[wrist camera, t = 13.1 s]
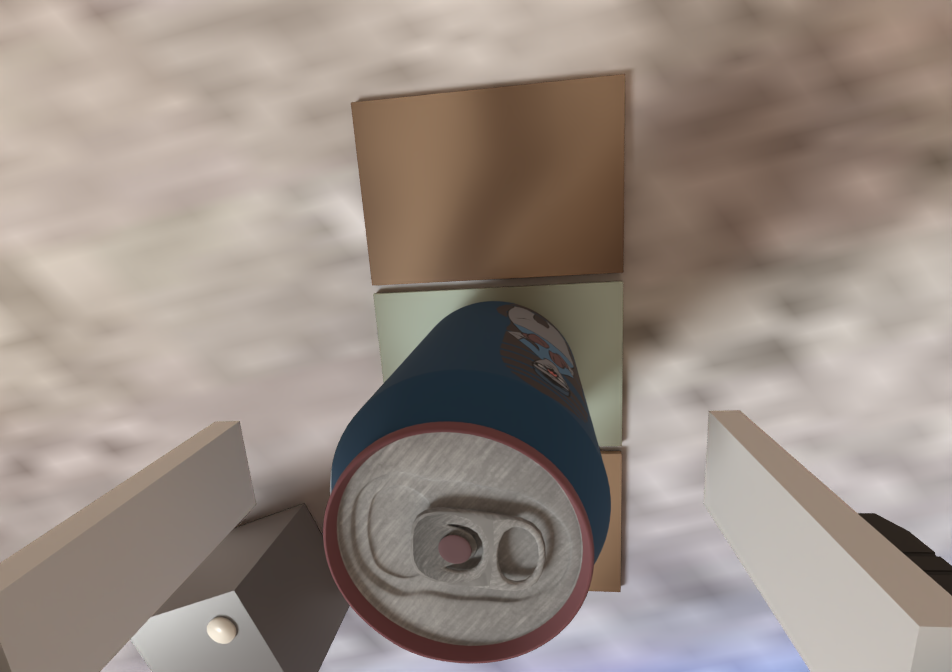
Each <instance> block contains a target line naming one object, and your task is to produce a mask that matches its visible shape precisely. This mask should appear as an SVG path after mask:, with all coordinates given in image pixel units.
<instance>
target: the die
mask: <svg viewBox="0 0 952 672" xmlns="http://www.w3.org/2000/svg"><path fill="white" fill-rule="evenodd" d="M349 606H350V605H349V604H348V602H347V601H346V599H345V598H344V597H343V595H342V593H341V592H340V590H339V589H338V587H337V585H336V583H335V581H334V579H333V577H332V574H331V572H330V569H329V566H328V563H327V559H326V555H325V549H324V541H323V536H322V534H321V532H320V531H319V529H318V527H317V525H316V523H315V522H314V520H313V518H312V516H311V514H310V513H309V511H308V509H307V507H306V505H305V504H301V505H298V506H296V507H293V508H290V509H287V510H284V511H281V512H279V513H276V514H273V515H270V516H267V517H264V518H262V519H259V520H256V521H253V522H250V523H247V524H244V525H242V526H239V527H236V528H234V529H233V530H232V531H231V532H230V533H229V534H228V535H227V536H226V537H225V538H224V539H223V540H222V541H221V543H220V544H219V545H218V546H217V547H216V548H215V549H214V550H213V551H212V552H211V553H210V554H209V555H208V556H207V558H206V559H205V560H204V561H203V562H202V563H201V564H200V565H199V566H198V567H197V568H196V569H195V570H194V571H193V573H192V574H191V575H190V576H189V577H188V578H187V579H186V580H185V581H184V582H183V583H182V584H181V585H180V586H179V588H178V589H177V590H176V591H175V592H174V593H173V594H172V595H171V596H170V597H169V598H168V599H167V600H166V601H165V603H164V604H163V605H162V606H161V607H160V608H159V609H158V610H157V611H156V612H155V613H154V614H153V615H152V616H151V617H150V619H149V620H148V621H147V622H146V623H145V624H144V625H143V626H142V627H141V628H140V629H139V630H138V631H137V632H136V634H135V635H134V636H133V637H132V638H131V639H130V640H131V641H132V643H133V644H134V646H135V647H136V649H137V650H138V652H139V653H140V655H141V656H142V658H143V659H144V661H145V662H146V664H147V665H148V667H149V668H150V670H151V671H152V672H318V671H319V669H320V667H321V665H322V663H323V661H324V659H325V657H326V655H327V652H328V650H329V648H330V646H331V644H332V642H333V640H334V638H335V635H336V633H337V631H338V629H339V627H340V625H341V623H342V621H343V619H344V616H345V614H346V612H347V610H348V608H349Z"/></svg>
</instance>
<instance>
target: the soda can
mask: <svg viewBox="0 0 952 672" xmlns="http://www.w3.org/2000/svg"><path fill="white" fill-rule="evenodd" d="M610 515H611V495H610V487H609V482H608V477H607V473H606V470H605V466H604V463H603V459H602V456H601V452H600V448H599V445H598V441H597V438H596V434H595V431H594V427H593V423H592V420H591V416H590V413H589V409H588V406H587V402H586V398H585V395H584V391H583V388H582V384H581V381H580V377H579V373H578V370H577V366H576V363H575V359H574V356H573V353H572V351H571V349H570V347H569V345H568V343H567V341H566V340H565V338H564V337H563V335H562V334H561V333H560V331H559V330H558V329H557V328H556V327H555V326H554V325H553V324H552V323H551V322H550V321H549V320H547V319H546V318H545V317H543V316H542V315H540V314H539V313H537V312H535V311H533V310H531V309H529V308H527V307H524V306H521V305H518V304H514V303H510V302H503V301H485V302H479V303H474V304H470V305H467V306H465V307H462V308H460V309H458V310H456V311H454V312H452V313H450V314H449V315H447V316H446V317H445V318H443V319H442V320H441V321H440V322H439V323H438V324H437V325H436V326H435V327H434V328H433V329H432V330H431V331H430V332H429V334H428V335H427V336H426V337H425V338H424V339H423V340H422V341H421V342H420V344H419V345H418V346H417V347H416V348H415V349H414V350H413V351H412V352H411V354H410V355H409V356H408V357H407V358H406V359H405V360H404V361H403V362H402V364H401V365H400V366H399V367H398V368H397V369H396V370H395V371H394V372H393V374H392V375H391V376H390V377H389V378H388V379H387V380H386V381H385V382H384V384H383V385H382V386H381V387H380V388H379V389H378V390H377V391H376V392H375V394H374V395H373V396H372V397H371V398H370V399H369V400H368V401H367V402H366V404H365V405H364V406H363V407H362V408H361V409H360V410H359V411H358V413H357V414H356V415H355V416H354V417H353V419H352V420H351V422H350V423H349V424H348V426H347V428H346V429H345V431H344V433H343V434H342V437H341V439H340V441H339V443H338V446H337V449H336V451H335V455H334V459H333V463H332V469H331V478H330V497H329V500H328V503H327V507H326V510H325V516H324V524H323V541H324V549H325V555H326V559H327V563H328V566H329V569H330V572H331V574H332V577H333V579H334V581H335V583H336V585H337V587H338V589H339V590H340V592H341V593H342V595H343V597H344V598H345V599H346V601H347V602H348V604H349V605H350V606H351V607H352V608H353V610H354V611H355V612H356V613H357V614H358V615H359V616H360V617H361V618H362V619H363V620H364V621H365V622H366V623H367V624H368V625H369V626H370V627H372V628H373V629H374V630H375V631H377V632H378V633H379V634H381V635H382V636H383V637H385V638H386V639H388V640H389V641H391V642H392V643H394V644H396V645H398V646H399V647H401V648H403V649H405V650H407V651H410V652H412V653H415V654H417V655H420V656H423V657H427V658H431V659H435V660H440V661H447V662H455V663H490V662H497V661H502V660H507V659H511V658H514V657H518V656H520V655H523V654H526V653H528V652H530V651H533V650H535V649H537V648H538V647H540V646H542V645H544V644H545V643H547V642H548V641H550V640H551V639H553V638H554V637H555V636H556V635H558V634H559V633H560V632H561V631H562V630H563V629H564V628H565V627H566V626H567V625H568V624H569V623H570V622H571V621H572V619H573V618H574V617H575V615H576V614H577V612H578V611H579V609H580V608H581V606H582V604H583V602H584V600H585V598H586V596H587V593H588V590H589V588H590V584H591V580H592V576H593V570H594V564H595V562H596V561H597V559H598V557H599V555H600V553H601V551H602V548H603V545H604V543H605V540H606V537H607V533H608V529H609V523H610Z"/></svg>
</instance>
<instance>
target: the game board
mask: <svg viewBox="0 0 952 672" xmlns="http://www.w3.org/2000/svg"><path fill="white" fill-rule="evenodd" d="M351 109H352V117H353V126H354V134H355V143H356V151H357V160H358V168H359V177H360V185H361V194H362V202H363V211H364V220H365V228H366V237H367V245H368V254H369V262H370V271H371V279H372V285H391V284H410V283H429V282H449V281H468V280H487V279H506V278H526V277H545V276H564V275H583V274H603V273H622V272H623V247H624V133H625V74H620V75H610V76H601V77H591V78H582V79H572V80H563V81H553V82H543V83H534V84H524V85H515V86H505V87H496V88H486V89H476V90H467V91H457V92H448V93H438V94H428V95H419V96H409V97H400V98H390V99H381V100H371V101H361V102H352V103H351ZM373 296H374V305H375V313H376V322H377V330H378V339H379V348H380V356H381V365H382V373H383V382H385V381H386V380H387V379H388V378H389V377H390V376H391V375H392V374H393V372H394V371H395V370H396V369H397V368H398V367H399V366H400V365H401V364H402V362H403V361H404V360H405V359H406V358H407V357H408V356H409V355H410V354H411V352H412V351H413V350H414V349H415V348H416V347H417V346H418V345H419V344H420V342H421V341H422V340H423V339H424V338H425V337H426V336H427V335H428V334H429V332H430V331H431V330H432V329H433V328H434V327H435V326H436V325H437V324H438V323H439V322H440V321H441V320H442V319H443V318H445V317H446V316H447V315H449V314H450V313H452V312H454V311H456V310H458V309H460V308H462V307H465V306H467V305H470V304H474V303H479V302H485V301H503V302H510V303H514V304H518V305H521V306H524V307H527V308H529V309H531V310H533V311H535V312H537V313H539V314H540V315H542V316H543V317H545V318H546V319H547V320H549V321H550V322H551V323H552V324H553V325H554V326H555V327H556V328H557V329H558V330H559V331H560V333H561V334H562V335H563V337H564V338H565V340H566V341H567V343H568V345H569V347H570V349H571V351H572V353H573V356H574V359H575V363H576V366H577V370H578V373H579V377H580V381H581V384H582V388H583V391H584V395H585V398H586V402H587V406H588V409H589V413H590V416H591V420H592V423H593V427H594V431H595V434H596V438H597V441H598V445H599V446H622V361H623V281H612V282H592V283H572V284H552V285H532V286H512V287H492V288H471V289H451V290H431V291H411V292H391V293H375V294H373ZM600 452H601V456H602V459H603V463H604V466H605V470H606V473H607V477H608V482H609V487H610V495H611V515H610V523H609V529H608V533H607V537H606V540H605V543H604V545H603V548H602V551H601V553H600V555H599V557H598V559H597V561H596V562H595V564H594V570H593V576H592V580H591V584H590V588H589V590H588V591H604V592H620V590H621V476H622V453H621V451H600Z"/></svg>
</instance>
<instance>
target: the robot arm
mask: <svg viewBox="0 0 952 672" xmlns="http://www.w3.org/2000/svg"><path fill="white" fill-rule="evenodd" d="M703 504H704V506H705V507H706V509H707V510H708V512H709V513H710V515H711V517H712V518H713V520H714V521H715V523H716V524H717V526H718V527H719V529H720V531H721V532H722V534H723V535H724V537H725V538H726V540H727V542H728V543H729V545H730V546H731V548H732V549H733V551H734V552H735V554H736V556H737V557H738V559H739V560H740V562H741V563H742V565H743V567H744V568H745V570H746V571H747V573H748V574H749V576H750V578H751V579H752V581H753V582H754V584H755V585H756V587H757V588H758V590H759V592H760V593H761V595H762V596H763V598H764V599H765V601H766V603H767V604H768V606H769V607H770V609H771V610H772V612H773V614H774V615H775V617H776V618H777V620H778V621H779V623H780V624H781V626H782V628H783V629H784V631H785V632H786V634H787V635H788V637H789V639H790V640H791V642H792V643H793V645H794V646H795V648H796V650H797V651H798V653H799V654H800V656H801V657H802V659H803V660H804V662H805V664H806V665H807V667H808V668H809V670H810V671H811V672H952V566H951V565H950V564H949V563H948V562H946V561H945V560H944V559H943V558H941V557H936V555H935V552H934V551H933V550H931V549H930V548H929V547H928V546H926V545H925V544H924V543H923V542H921V541H920V540H919V539H918V538H916V537H915V536H914V535H913V534H911V533H910V532H909V531H907V530H905V529H904V528H902V527H900V526H898V525H896V524H894V523H892V522H890V521H888V520H886V519H884V518H883V517H881V516H879V515H877V514H875V513H856V512H855V511H854V510H853V509H852V508H851V507H850V506H848V505H847V504H846V503H845V502H844V501H843V500H842V499H840V498H839V497H838V496H837V495H836V494H835V493H834V492H832V491H831V490H830V489H829V488H828V487H827V486H826V485H824V484H823V483H822V482H821V481H820V480H819V479H818V478H816V477H815V476H814V475H813V474H812V473H811V472H810V471H808V470H807V469H806V468H805V467H804V466H803V465H802V464H800V463H799V462H798V461H797V460H796V459H795V458H794V457H792V456H791V455H790V454H789V453H788V452H787V451H786V450H784V449H783V448H782V447H781V446H780V445H779V444H778V443H776V442H775V441H774V440H773V439H772V438H771V437H770V436H768V435H767V434H766V433H765V432H764V431H763V430H762V429H760V428H759V427H758V426H757V425H756V424H755V423H754V422H752V421H751V420H750V419H749V418H748V417H747V416H746V415H744V414H743V413H742V412H741V411H740V410H734V411H709V417H708V434H707V452H706V469H705V486H704V503H703ZM255 505H256V500H255V495H254V490H253V485H252V480H251V476H250V471H249V466H248V461H247V456H246V451H245V446H244V441H243V436H242V431H241V426H240V421H226V422H214V423H212V424H211V425H209V426H208V427H206V428H205V429H203V430H202V431H200V432H199V433H197V434H196V435H194V436H193V437H191V438H190V439H188V440H187V441H185V442H184V443H182V444H181V445H179V446H178V447H176V448H174V449H173V450H171V451H170V452H168V453H167V454H165V455H164V456H162V457H161V458H159V459H158V460H156V461H155V462H153V463H152V464H150V465H149V466H147V467H146V468H144V469H143V470H141V471H140V472H138V473H137V474H135V475H133V476H132V477H130V478H129V479H127V480H126V481H124V482H123V483H121V484H120V485H118V486H117V487H115V488H114V489H112V490H111V491H109V492H108V493H106V494H105V495H103V496H102V497H100V498H99V499H97V500H95V501H94V502H92V503H91V504H89V505H88V506H86V507H85V508H83V509H82V510H80V511H79V512H77V513H76V514H74V515H73V516H71V517H70V518H68V519H67V520H65V521H64V522H62V523H61V524H59V525H57V526H56V527H54V528H53V529H51V530H50V531H48V532H47V533H45V534H44V535H42V536H41V537H39V538H38V539H36V540H35V541H33V542H32V543H30V544H29V545H27V546H26V547H24V548H23V549H21V550H19V551H18V552H16V553H15V554H13V555H12V556H10V557H9V558H7V559H6V560H4V561H3V562H1V563H0V672H100V671H101V670H102V669H103V668H104V667H105V666H106V665H107V664H108V662H109V661H110V660H111V659H112V658H113V657H114V656H115V655H116V654H117V653H118V652H119V651H120V650H121V649H122V647H123V646H124V645H125V644H126V643H127V642H128V641H129V640H130V639H131V638H132V637H133V636H134V635H135V634H136V632H137V631H138V630H139V629H140V628H141V627H142V626H143V625H144V624H145V623H146V622H147V621H148V620H149V619H150V617H151V616H152V615H153V614H154V613H155V612H156V611H157V610H158V609H159V608H160V607H161V606H162V605H163V604H164V603H165V601H166V600H167V599H168V598H169V597H170V596H171V595H172V594H173V593H174V592H175V591H176V590H177V589H178V588H179V586H180V585H181V584H182V583H183V582H184V581H185V580H186V579H187V578H188V577H189V576H190V575H191V574H192V573H193V571H194V570H195V569H196V568H197V567H198V566H199V565H200V564H201V563H202V562H203V561H204V560H205V559H206V558H207V556H208V555H209V554H210V553H211V552H212V551H213V550H214V549H215V548H216V547H217V546H218V545H219V544H220V543H221V541H222V540H223V539H224V538H225V537H226V536H227V535H228V534H229V533H230V532H231V531H232V530H233V529H234V528H235V527H236V525H237V524H238V523H239V522H240V521H241V520H242V519H243V518H244V517H245V516H246V515H247V514H248V513H249V512H250V510H251V509H252V508H253V507H254V506H255Z"/></svg>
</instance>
